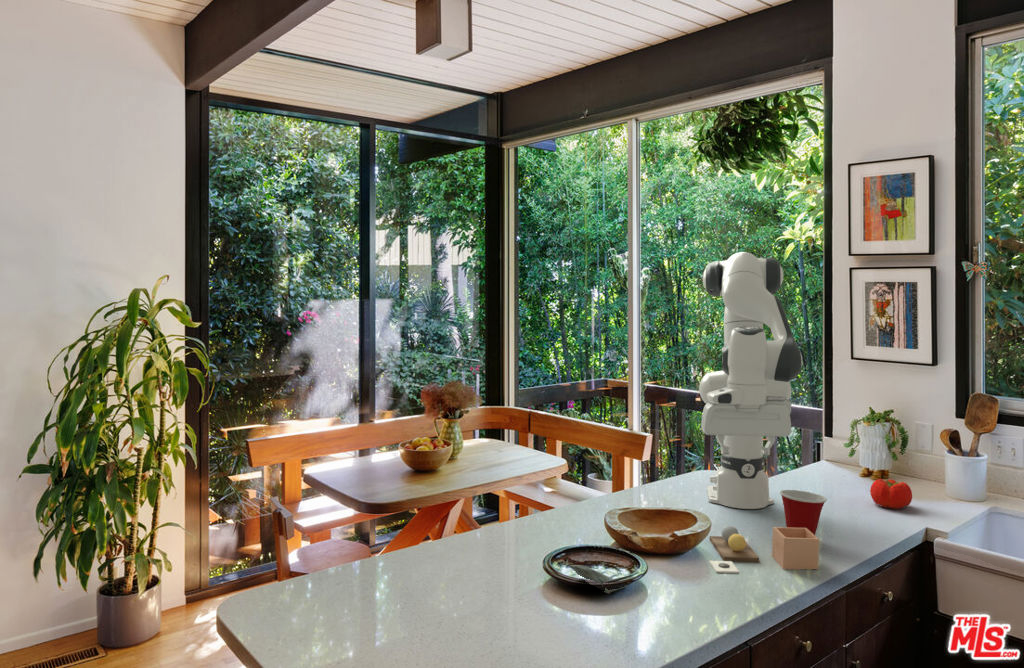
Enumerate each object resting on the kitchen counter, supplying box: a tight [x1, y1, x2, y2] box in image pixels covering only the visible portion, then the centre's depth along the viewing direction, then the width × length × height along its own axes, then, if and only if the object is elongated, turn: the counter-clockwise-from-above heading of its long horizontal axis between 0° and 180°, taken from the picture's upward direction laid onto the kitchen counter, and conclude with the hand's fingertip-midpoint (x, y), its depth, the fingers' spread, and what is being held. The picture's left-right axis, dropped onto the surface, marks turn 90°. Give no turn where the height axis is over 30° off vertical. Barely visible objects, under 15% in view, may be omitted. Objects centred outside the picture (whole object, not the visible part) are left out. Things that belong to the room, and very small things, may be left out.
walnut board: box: [709, 535, 760, 563], centre depth 171 cm, size 14×8×1 cm, turn 178°
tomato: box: [869, 478, 913, 510], centre depth 208 cm, size 11×11×8 cm
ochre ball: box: [728, 533, 747, 552], centre depth 167 cm, size 4×4×4 cm
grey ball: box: [721, 525, 740, 542], centre depth 173 cm, size 4×4×4 cm
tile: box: [709, 560, 740, 574], centre depth 160 cm, size 6×5×1 cm
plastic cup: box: [779, 489, 827, 536], centre depth 178 cm, size 11×11×12 cm
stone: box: [569, 564, 626, 594], centre depth 150 cm, size 11×4×10 cm
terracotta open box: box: [771, 526, 820, 571], centre depth 163 cm, size 8×8×7 cm
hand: (745, 454), depth 167 cm, fingers open, 8 cm apart
